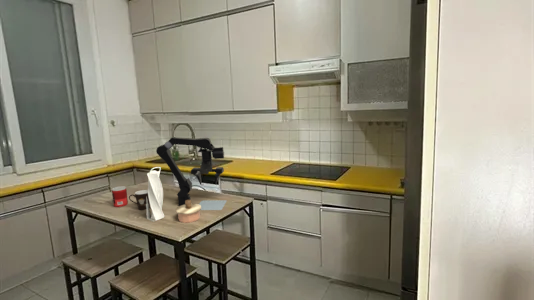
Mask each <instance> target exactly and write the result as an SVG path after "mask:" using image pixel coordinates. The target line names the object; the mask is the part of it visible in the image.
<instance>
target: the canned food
mask: <svg viewBox="0 0 534 300" xmlns="http://www.w3.org/2000/svg"><path fill="white" fill-rule="evenodd" d="M127 190H128V189H127V186H123V185H122V186H115V187H113V188H111V194H112V202H113V206H114V208H121V207H125V206H127V205H128V204H129V201H128V200H129V198H128V192H127Z"/></svg>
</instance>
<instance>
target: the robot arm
mask: <svg viewBox="0 0 534 300" xmlns="http://www.w3.org/2000/svg"><path fill="white" fill-rule="evenodd" d="M175 145H180V146H194V147H197V148H199V150H198V151H197V153H201V154H200V155H201V165H200V167H193V168H191V170H190V175H193V176H195V177H196V179H197V181H198V182H199V183H198V184H199V185H200V186H202V175H209V173H214V177H215V179H214V180H215V181H214V182H215V183H214V184H215V185H217V183H218V180H219V178H220V176H221V174H223V173H224V172H225V169H224V167H223V166H220V167H219V166H217V167H216V168H213V159H214V160H217V159H219V160H220V159H221V160H222V159H225V152H224V147H223V146H220V147H216V146H214V145H213V143H212V141H211V139H210V138H209V137H200V138H187V137H177V136H173V137H171V138H169V140H167V141H166V142H165V143H164V144H161V145H159V146H158V147H157V148H156V150H155V151H156V154H157V155H158V157H160V159H161V160H163V161H164V162H165V163H166V165H167V166H168V168H169V169H170V171H171V173H172V174H173V176H174V178H175V179H176V181H177V183H178V184H177V185H178V187H179V189H180V190H179V191H178V192H177V193H176V195H177V202H178V203H177V204H178V205H177V207H179V206H181V205H184V204H185V200H191V201H192V197H191V196H190V195H191V194H190V193H191V190H192V188H193V182H192V181H191V179H190V178H189V177H188V178H186V177H185V176H184V174H183V172H182V171H181V170H180V168H179V166H178V164H177V163H176V161H175V160H174V158H173V156H172V152H171V148H172V147H174V146H175Z"/></svg>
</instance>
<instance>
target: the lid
mask: <svg viewBox="0 0 534 300" xmlns="http://www.w3.org/2000/svg"><path fill="white" fill-rule="evenodd" d="M198 211H200V212H201V211H202V210H201V205H199V203H192V199H191V200H185V204H184V205H181V206H177V207H176V208H175V212H176V213H177V214H178V213H179V214H192V213H196V212H198Z"/></svg>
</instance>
